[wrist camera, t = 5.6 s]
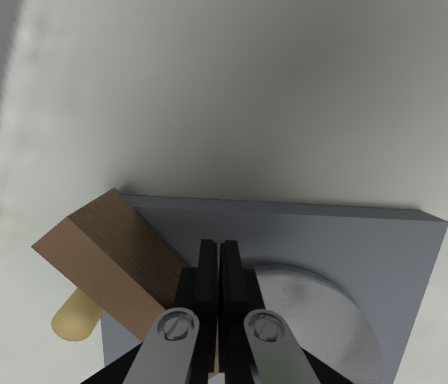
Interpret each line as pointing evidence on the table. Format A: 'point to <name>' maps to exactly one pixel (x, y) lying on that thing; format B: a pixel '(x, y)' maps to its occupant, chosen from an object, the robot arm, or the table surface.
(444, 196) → the table surface
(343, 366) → the wooden handled frying pan
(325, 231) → the base plate
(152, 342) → the robot arm
